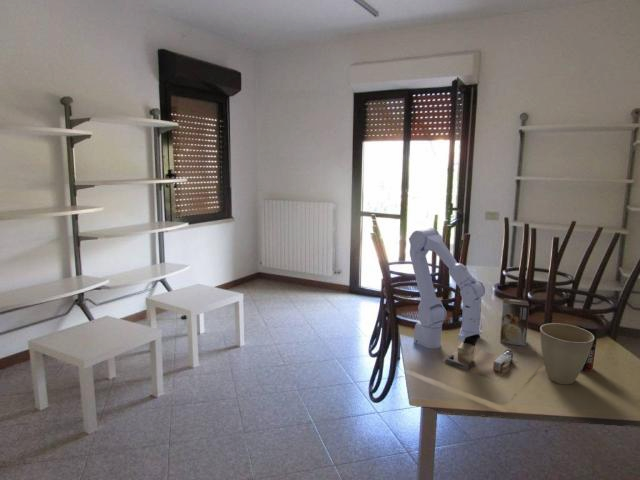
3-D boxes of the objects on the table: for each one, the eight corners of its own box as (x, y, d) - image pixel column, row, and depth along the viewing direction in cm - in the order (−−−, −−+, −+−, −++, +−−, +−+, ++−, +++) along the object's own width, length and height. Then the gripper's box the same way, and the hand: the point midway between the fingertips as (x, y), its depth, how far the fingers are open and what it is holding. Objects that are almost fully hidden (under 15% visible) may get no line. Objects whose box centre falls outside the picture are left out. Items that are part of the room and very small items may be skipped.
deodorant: (585, 372, 145) (591, 330, 142) (568, 365, 150) (573, 323, 147) (596, 369, 147) (602, 326, 145) (579, 361, 153) (584, 320, 150)
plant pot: (526, 368, 147) (530, 323, 144) (568, 367, 148) (574, 322, 145) (552, 391, 133) (558, 342, 130) (598, 390, 134) (606, 341, 131)
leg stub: (457, 359, 150) (457, 347, 149) (463, 354, 153) (463, 341, 152) (469, 363, 148) (469, 350, 146) (474, 357, 150) (474, 345, 149)
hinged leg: (505, 358, 152) (506, 349, 151) (513, 361, 150) (514, 351, 149) (492, 369, 143) (493, 360, 143) (501, 372, 141) (501, 363, 141)
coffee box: (524, 340, 170) (529, 300, 167) (525, 346, 164) (530, 305, 161) (499, 336, 173) (503, 297, 170) (499, 342, 168) (503, 302, 165)
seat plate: (440, 364, 149) (441, 354, 149) (464, 348, 162) (465, 339, 162) (496, 384, 137) (497, 373, 136) (517, 365, 150) (518, 355, 149)
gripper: (473, 325, 141) (470, 365, 143) (491, 313, 151) (488, 350, 154) (452, 320, 145) (450, 358, 148) (471, 309, 156) (469, 344, 159)
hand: (468, 354), depth 151 cm, fingers closed, pressing on leg stub
